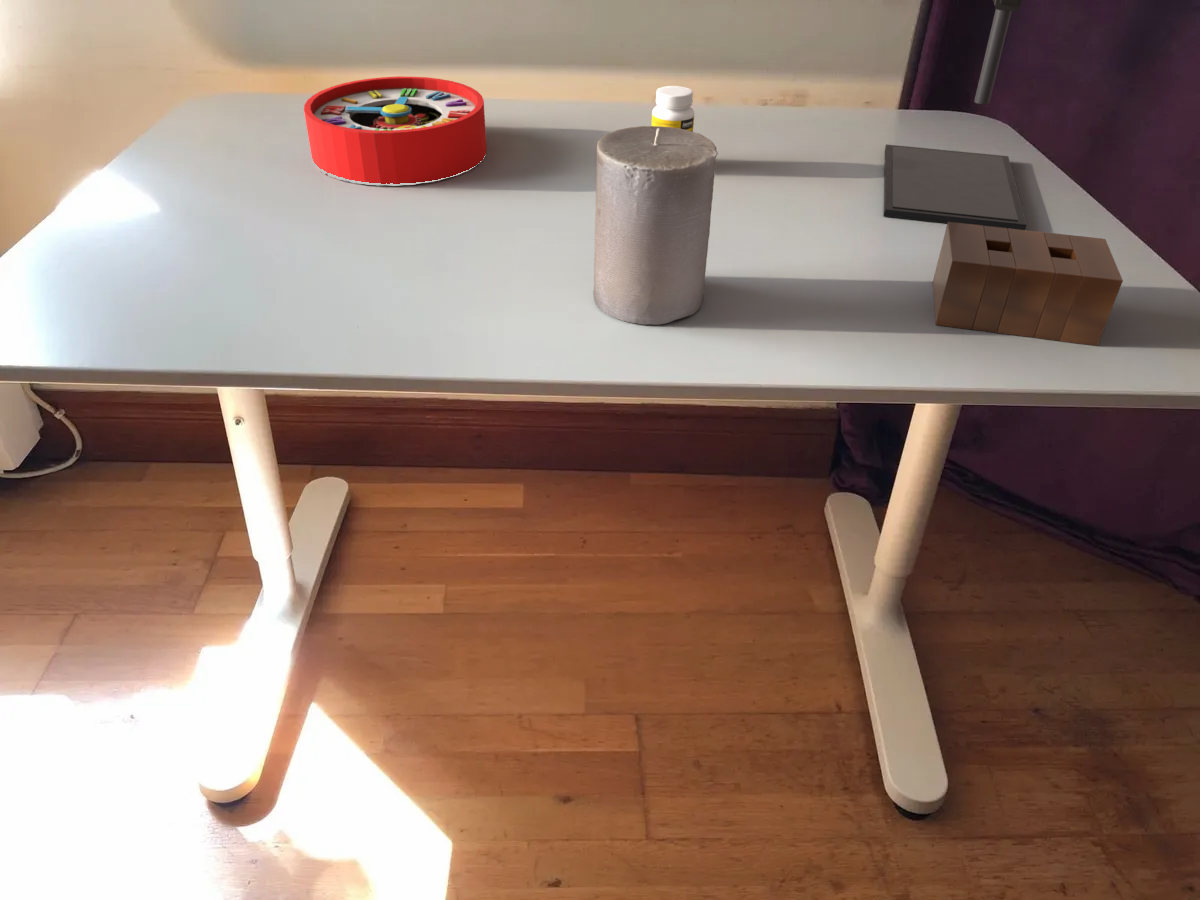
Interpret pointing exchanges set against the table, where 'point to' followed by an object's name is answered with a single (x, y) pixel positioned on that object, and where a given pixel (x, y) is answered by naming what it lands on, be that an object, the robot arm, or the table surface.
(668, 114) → the supplement bottle
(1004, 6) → the robot arm
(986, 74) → the stylus
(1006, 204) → the tablet
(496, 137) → the table surface
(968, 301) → the pen stand
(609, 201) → the pillar candle
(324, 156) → the toy clock
